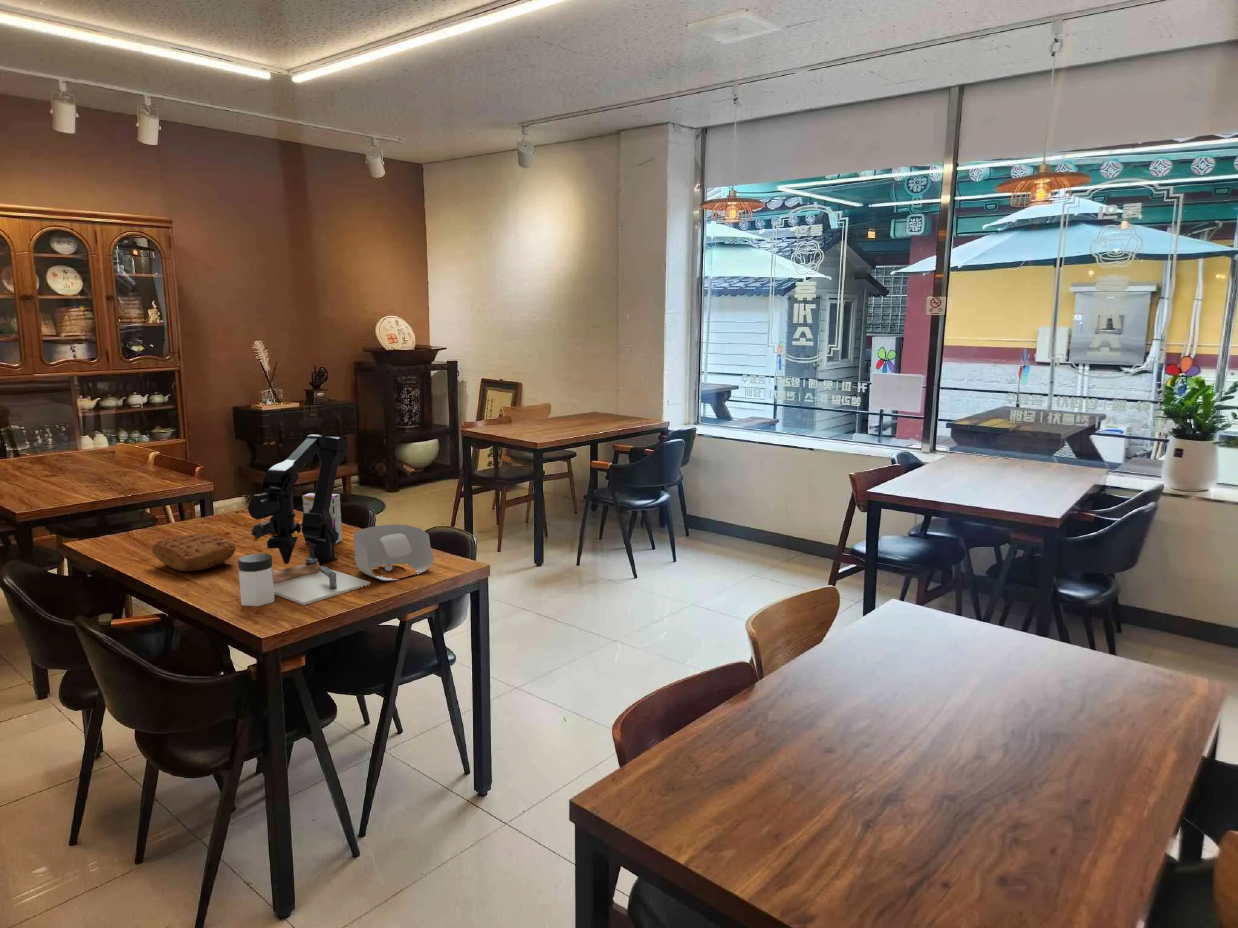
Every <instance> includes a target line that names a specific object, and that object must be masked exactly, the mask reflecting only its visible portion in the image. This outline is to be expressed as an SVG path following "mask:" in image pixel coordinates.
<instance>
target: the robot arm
mask: <svg viewBox="0 0 1238 928" xmlns="http://www.w3.org/2000/svg"><path fill="white" fill-rule="evenodd" d="M348 447H349V444H348V442H347V440H346V438H345V437H343V436H342V437H341V436H327V435H326V436H325V435H322V434H314V433H313V434H309V435H307V436H306V437H305V440H304V441H303V442H301V444H300V445H299V446H298V447H297V448H296V449H295V450H294V451H293V452H292V453H291V454H290V455H289V456H288V457H287V458H286V459H285V460H284V461H281V462H279V463H276V464H274V465H272V466H271V467H270V468H269V469H268V470H267V471H266V473H265V476H264V478H263V481H262V482H261V486H260V488H259V490H258V494H253V496H252V497H253V499H251V501H250V502H249V504H248V506H247V510H248V511H247V512H248V514H249V515H250V517H251V518H253V520H262V519H265V518H268V517H269V520H265V521H262V522H261V523H259V522H258V524H254V525H253V526H252V528H251V529H250V531H251V536H253V537H254V539H255V540H258V539H261V538H262V537H264V536H267V535H269V534H270V537H269V539H268V540H267V541H266V545H267V549H273V550H274V549H278V551H279V553H280V556H281V559H282V561H283V564H284V565H289V564H290V560H291V558H292V556H293V551H294V549H295V546H296V544H297V541H298V539H299V538H298V536H293V534H294V533H295V532H297V534H300V533H302V536H303V538H304V542H305V541H306V542H310V543H309V548H308V551H309V558H311V557H316V558H317V562H319V565H321V564H325V563H330V562H333V561H337V560H338V559H339V557H336V556H335V555H336V554H335V544H334V543H335V542H336V541H337V540H338V536H339V533H338V532H337V531H336V530H335V529H334V528H333V527H332V521H333V520H332V518H331V515H330V512H329V509H330V503H331V498H332V494H334V492H333V491H334V488H335V483H336V478H337V477H336V476H337V473H338V472H337V471H338V467H339V466H340V464H341V463H342V462H343V461H344V459H345V458H346V455H347V452H348V449H349V448H348ZM316 454H317V455H318V458H319V461H320V466H319V472H318V477H317V482H316V486H315V492H314V493H315V497H314V502H313V507H312V509H311V510H310V511H309V513H304V515H303V514H302V521H301V523H299V522H298V521H296V522H295V517H296V512H294V500H293V495H294V494H297V493H298V489H295V488H294V485H295V484H296V483H297V481H298V480H299V476H300V475H299V474H300V472H301V470H302V469H303V468H304V467H305V466H306V465H307V464H308V463H309V461H310V460H311V459H313V457H314V456H315V455H316Z"/></svg>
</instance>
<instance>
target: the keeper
mask: <svg viewBox="0 0 1238 928" xmlns="http://www.w3.org/2000/svg"><path fill="white" fill-rule="evenodd" d="M305 563H307V564H314V563H317V558H316V557H311V558H310V557H307V558H305ZM332 570H333V569H331V568H329V567H328V566H327V565H326V566H325V565H324V566H322V567H319V571H321V572H322V573H323V574H325V575H326V576H327V577H329V583H330V589H331V590H333V589H337V583H336V573H335V572H333V571H332Z"/></svg>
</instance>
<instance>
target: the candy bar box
mask: <svg viewBox="0 0 1238 928" xmlns="http://www.w3.org/2000/svg"><path fill="white" fill-rule="evenodd" d="M314 497H315V492H314V493H313V492H311V493H310V492H309V493H306V494H303V495H302V496H301V498H302V499H301V501H302V512H303V513H302V516H303V515H304V513H309V511H310V510H311V509H312V507H313V502H314ZM329 512H330V515H331V518H332V520H333V521H332V527H333V528H334V529H335V530H336V531H337V532H338V533H339V536H338V540H337V541H336V542H335V543H334V545H337V543H338V544H340V542H342V541H343V531H342V529H343V528H342V514H341V513H342V511H341V494H339V493H332V498H331V503H330V509H329ZM304 543H305V544H310V542H306V541H305V540H304Z"/></svg>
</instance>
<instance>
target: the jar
mask: <svg viewBox="0 0 1238 928" xmlns="http://www.w3.org/2000/svg"><path fill="white" fill-rule="evenodd" d="M237 560H238V561H237V565H238V570H239V571H238V579H239V589H240V592H239V593H240V603H241V604H240V605H241V606H244V607H245V606H246V607H261V606H264V605H267V604H272V603H274V602H275V597H276V594H275V589H274V576H273V572H274V566H273V565H274V564H273V556H272V555H271V554H269V553H252V554H246V555H243V556H241V557H238V559H237Z"/></svg>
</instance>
